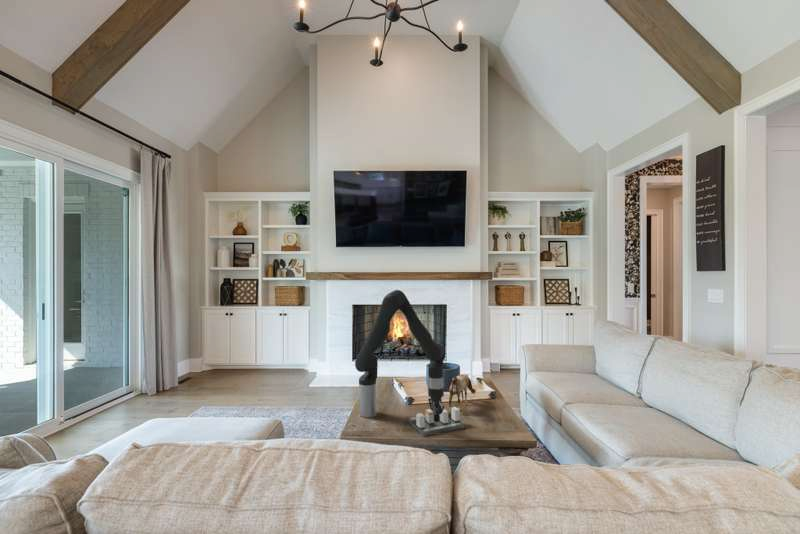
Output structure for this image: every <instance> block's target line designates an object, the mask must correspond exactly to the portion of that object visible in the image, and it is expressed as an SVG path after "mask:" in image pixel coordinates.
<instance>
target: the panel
mask: <svg viewBox="0 0 800 534" xmlns="http://www.w3.org/2000/svg"><path fill="white" fill-rule="evenodd" d="M423 415H424V423H425V427H424V428H419V427H418V426H417V425H416V416H414V417H409V418H407V419H408V421H407V422H408V423H409V424H410V425H411V426H412V428H414V429H415V430H416V429H417V430H418V431H419V432H420V433H421V434H422V435H423V436H424V437H426V436H425V435H429V436H431V434H433V435H438V434H442V433H447V431H448V432H451V431H457V430H463V429H465V424H464V423H463V422H461V420H459V421H454V420H453V419H452V418H451V414H449V412H448V423H442V422H441V421H440V414H439V422H435V421H434V423H428V422H427V421H426V414H423ZM462 428H463V429H462ZM417 430H416V431H417ZM418 431H417V432H418ZM419 432H418V433H419ZM420 433H419V434H420ZM437 433H438V434H437ZM421 434H420V435H421ZM422 435H421V436H422ZM423 436H422V437H423Z"/></svg>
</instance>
